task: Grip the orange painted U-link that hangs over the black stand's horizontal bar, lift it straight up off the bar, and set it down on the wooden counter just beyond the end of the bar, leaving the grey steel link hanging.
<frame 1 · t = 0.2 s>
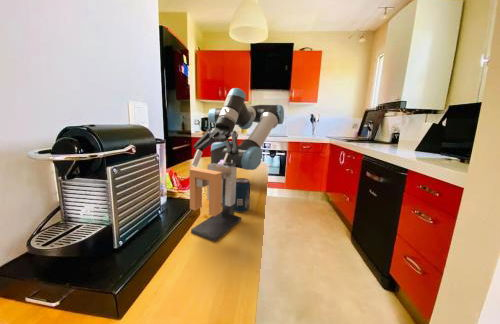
hand: (207, 167, 76), 16 cm above the worktop, tool tilted 35°, fingers open, 13 cm apart
orange link: (205, 210, 59), point 8 cm above the worktop, touching stand
stand: (217, 226, 66), on the worktop
grey link: (221, 201, 66), point 8 cm above the worktop, touching stand
soda can: (240, 209, 80), on the worktop
candy box: (223, 199, 90), on the worktop
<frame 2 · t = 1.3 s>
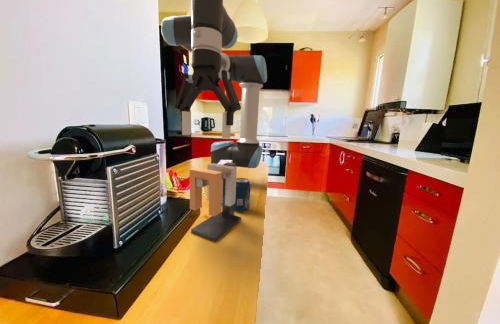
hand: (205, 136, 55), 29 cm above the worktop, tool pointing down, fingers open, 13 cm apart
nothing on the worktop moved.
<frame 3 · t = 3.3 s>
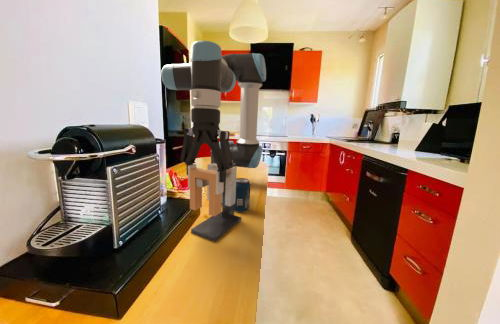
hand: (205, 189, 57), 14 cm above the worktop, tool pointing down, fingers closed on orange link, 9 cm apart
orange link: (205, 210, 59), point 8 cm above the worktop, touching gripper, stand
everything else where it was.
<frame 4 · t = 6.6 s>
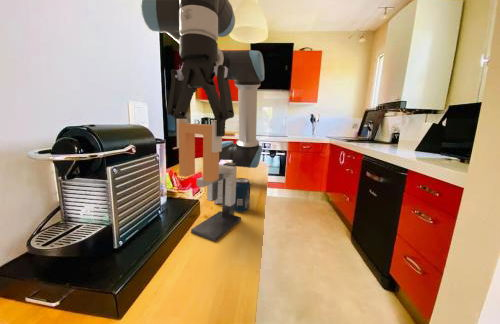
hand: (198, 149, 45), 27 cm above the worktop, tool pointing down, fingers closed on orange link, 9 cm apart
orange link: (198, 177, 46), point 21 cm above the worktop, touching gripper
everything else where it was.
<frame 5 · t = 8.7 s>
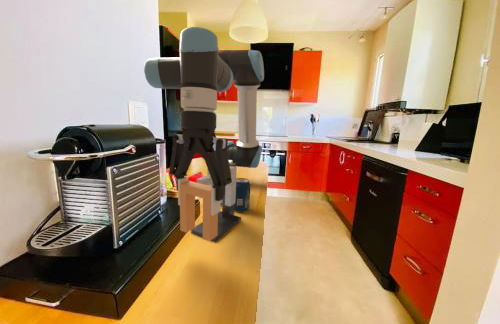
hand: (198, 208, 48), 13 cm above the worktop, tool pointing down, fingers closed on orange link, 9 cm apart
orange link: (198, 232, 49), point 7 cm above the worktop, touching gripper
everything else where it was.
when the fingers open (8 cm above the worktop, at t = 10.4 s): orange link drops 1 cm, on the worktop.
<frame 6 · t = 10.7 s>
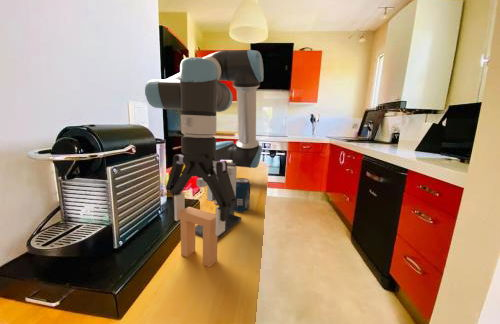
hand: (198, 225, 49), 9 cm above the worktop, tool pointing down, fingers open, 12 cm apart
orange link: (198, 257, 51), on the worktop
everything else where it was.
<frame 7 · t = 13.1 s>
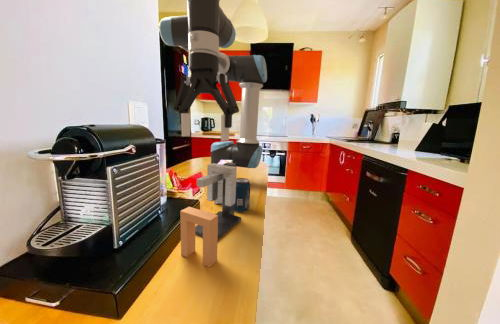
hand: (204, 138, 56), 29 cm above the worktop, tool pointing down, fingers open, 13 cm apart
nothing on the worktop moved.
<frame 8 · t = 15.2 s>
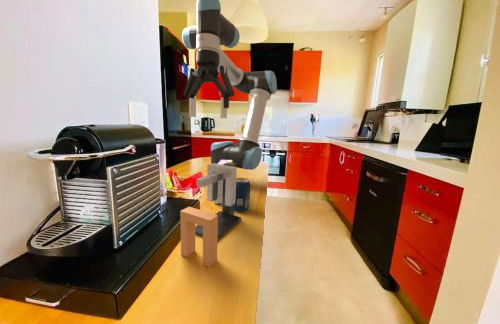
hand: (207, 117, 71), 35 cm above the worktop, tool pointing down, fingers open, 13 cm apart
nothing on the worktop moved.
at the end: orange link inside the target area (0.7 cm from its centre), on the worktop; orange link touching worktop; the gripper is holding nothing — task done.
